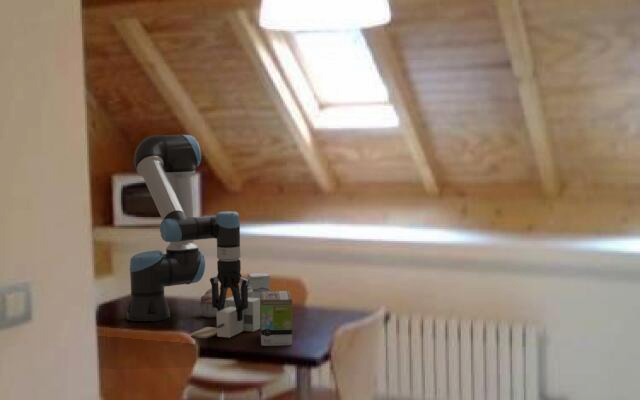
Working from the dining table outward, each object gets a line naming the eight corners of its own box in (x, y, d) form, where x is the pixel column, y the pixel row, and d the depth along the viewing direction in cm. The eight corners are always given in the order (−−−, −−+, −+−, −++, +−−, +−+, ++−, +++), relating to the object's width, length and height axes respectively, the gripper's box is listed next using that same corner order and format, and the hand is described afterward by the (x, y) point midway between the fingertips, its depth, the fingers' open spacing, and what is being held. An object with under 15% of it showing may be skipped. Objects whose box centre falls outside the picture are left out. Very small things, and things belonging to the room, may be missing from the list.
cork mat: (187, 336, 297) (187, 334, 297) (206, 328, 308) (206, 326, 308) (206, 338, 294) (206, 336, 294) (224, 330, 305) (224, 328, 305)
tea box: (293, 345, 283) (292, 298, 282) (261, 346, 282) (259, 299, 281) (291, 334, 298) (290, 289, 297) (260, 335, 297) (259, 290, 296)
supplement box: (251, 310, 336) (250, 276, 334) (247, 306, 343) (247, 273, 342) (270, 309, 337) (270, 275, 336) (267, 305, 344) (266, 272, 343)
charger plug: (212, 338, 293) (211, 314, 292) (235, 327, 307) (235, 304, 306) (224, 339, 291) (223, 315, 290) (247, 329, 305) (246, 305, 305)
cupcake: (214, 319, 321) (213, 291, 320) (193, 317, 326) (192, 289, 325) (229, 314, 329) (229, 287, 328) (208, 312, 334) (207, 285, 333)
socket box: (224, 329, 306) (223, 299, 306) (232, 325, 312) (232, 296, 311) (253, 331, 302) (252, 301, 301) (261, 327, 308) (261, 298, 307)
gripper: (199, 259, 297) (201, 330, 299) (247, 262, 290) (249, 334, 292) (211, 256, 304) (212, 325, 306) (258, 258, 297) (259, 329, 299)
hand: (230, 329), depth 299 cm, fingers closed on charger plug, 4 cm apart
